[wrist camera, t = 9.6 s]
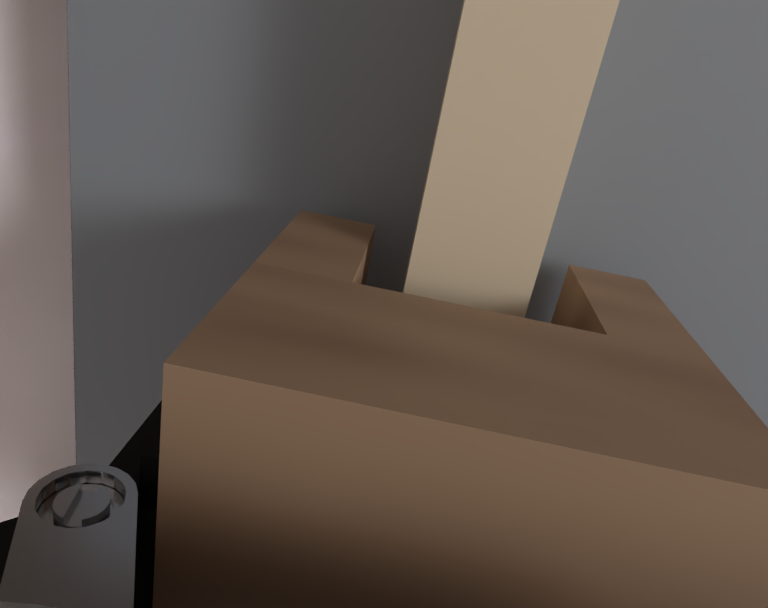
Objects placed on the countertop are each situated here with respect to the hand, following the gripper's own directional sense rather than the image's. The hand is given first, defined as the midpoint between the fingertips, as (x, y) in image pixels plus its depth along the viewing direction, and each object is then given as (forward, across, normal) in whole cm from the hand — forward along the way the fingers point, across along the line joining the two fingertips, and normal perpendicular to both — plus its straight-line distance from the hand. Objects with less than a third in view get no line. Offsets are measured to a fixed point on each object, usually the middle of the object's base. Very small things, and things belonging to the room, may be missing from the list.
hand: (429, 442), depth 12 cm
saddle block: (+1, 0, 0) cm, 1 cm away
